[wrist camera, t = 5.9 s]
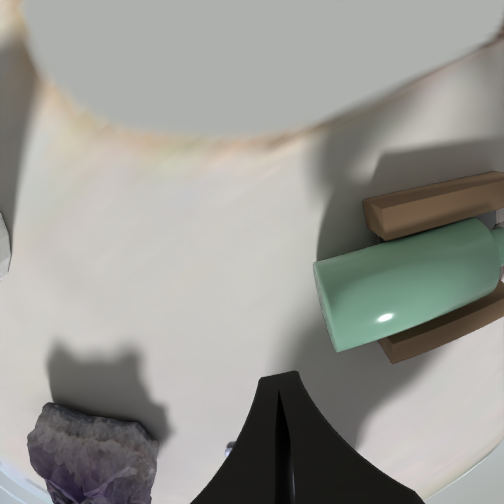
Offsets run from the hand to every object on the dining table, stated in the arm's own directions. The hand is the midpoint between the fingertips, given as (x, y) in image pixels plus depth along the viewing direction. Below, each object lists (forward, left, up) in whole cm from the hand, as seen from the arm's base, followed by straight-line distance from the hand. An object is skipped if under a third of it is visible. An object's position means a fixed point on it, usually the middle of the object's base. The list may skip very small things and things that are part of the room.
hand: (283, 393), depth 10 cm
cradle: (0, -11, -7) cm, 13 cm away
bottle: (+1, -3, -4) cm, 5 cm away
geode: (-14, +20, -7) cm, 25 cm away
